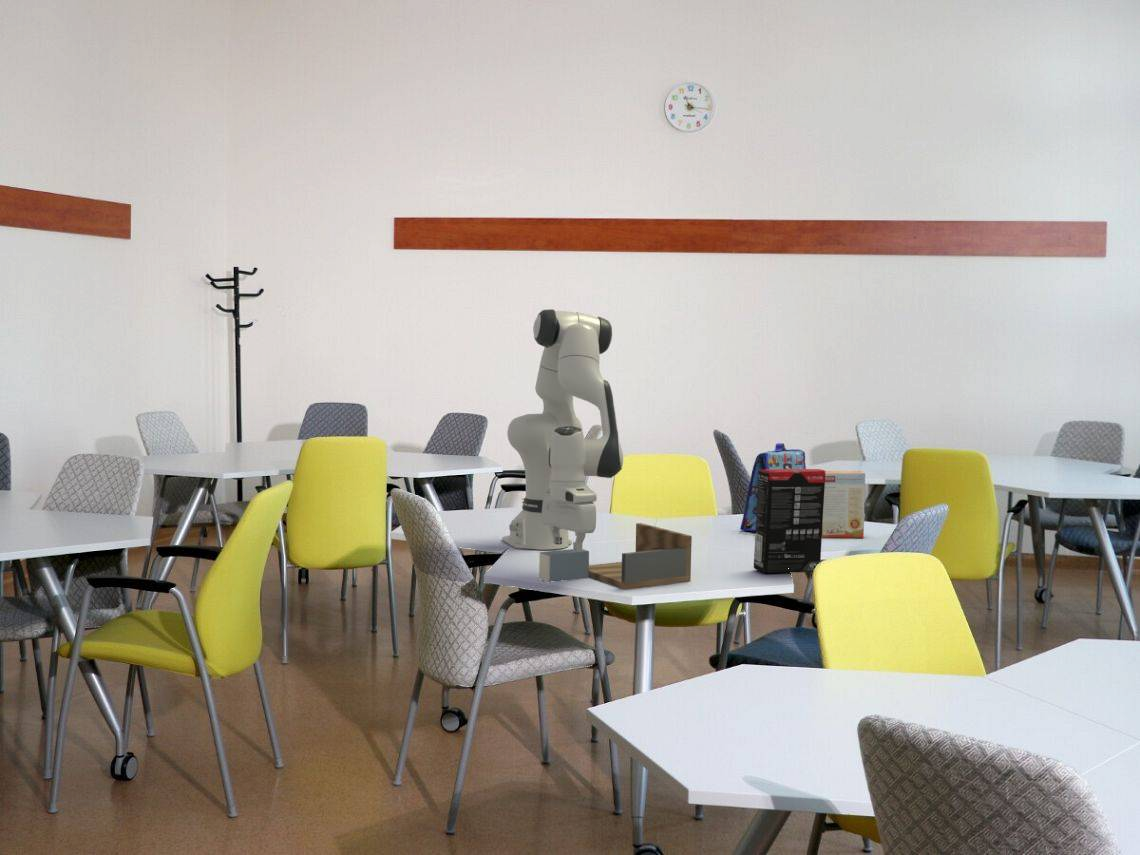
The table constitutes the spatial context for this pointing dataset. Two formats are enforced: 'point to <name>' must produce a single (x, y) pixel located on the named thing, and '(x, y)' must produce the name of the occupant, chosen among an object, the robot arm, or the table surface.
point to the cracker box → (843, 504)
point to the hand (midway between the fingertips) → (567, 546)
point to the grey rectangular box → (564, 565)
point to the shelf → (646, 541)
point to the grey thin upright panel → (653, 564)
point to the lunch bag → (768, 461)
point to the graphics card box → (789, 520)
